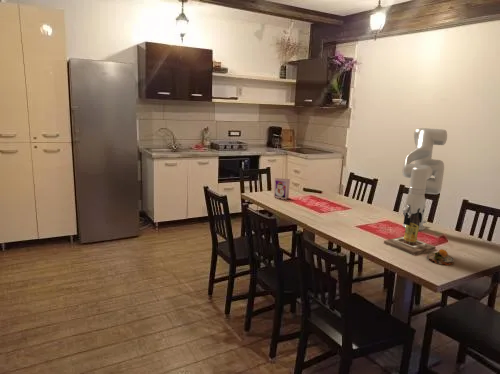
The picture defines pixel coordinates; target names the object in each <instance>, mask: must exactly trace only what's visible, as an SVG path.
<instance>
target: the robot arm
mask: <svg viewBox="0 0 500 374" xmlns="http://www.w3.org/2000/svg"><path fill="white" fill-rule="evenodd" d="M413 140H414V144H415V149H414V150H412V151H411V152H409V153H408V154H407V155H406V157H405V158H404V161H403V166H402V176H403V177H404V178H407V179H409V188H408V193H407V196H406V199H405V204H404V208H402V212H403V218H404V219H403V223H402V227H404V229H406V225H410V216H411V214H415V213H417V210H418V209H419V208H420V211H419V220H420V223H419V230H418V231H424V230H425V229H426V227H425V226H424V225H425V224H427V220H426V219H424V216H425V209H426V206H427V205H426V204H427V203H426V202H427V200H426V197H425V194H428V195H439V194H440V193H441V191H442V187H443V180H444V174H445V173H444V172H445V163H444V161H443V160H440V159H433V158H432V156H433V149H434V146H445V144H446V143H447V141H448V131H447V130H446V129H443V128H441V129H439V128H430V127H429V128H427V127H426V128H424V127H422V128H416V129H415V130H414V133H413ZM413 162H414V163H413ZM432 176H433V177H432Z"/></svg>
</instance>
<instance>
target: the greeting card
mask: <svg viewBox="0 0 500 374" xmlns="http://www.w3.org/2000/svg"><path fill="white" fill-rule="evenodd" d="M290 181H291V179H290V178H276V177H275V178H274V186H273V187H274V188H273V198H274V197H276V198H275V199H279V198H281V199H280V200H284V199H286V200H287V199H289V198H290V196H289V195H290V183H291V182H290Z"/></svg>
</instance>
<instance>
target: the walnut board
mask: <svg viewBox="0 0 500 374" xmlns="http://www.w3.org/2000/svg"><path fill="white" fill-rule="evenodd" d="M383 244H385V245H386V246H390V247H391V248H392V247H393V248H394V249H397V250H399V251H402V252H404V253H407V254H410V255H413V256H416V255H419V254H423V253H426V252H431V251H434V250H436V246H435V245H432V244H430V243H427V242H424V241H420V240H418V239H417V241H416V244H415V245H409V244H406V243H404V236H399V237H394V238H389V239H386V240H384V241H383Z"/></svg>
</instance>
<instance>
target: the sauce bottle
mask: <svg viewBox="0 0 500 374" xmlns="http://www.w3.org/2000/svg"><path fill="white" fill-rule="evenodd" d="M419 211H420V208H419V209H418V210H417V213H415V214H411V216H410V225H406V228H404V229H405V230H404V234H403V235H404V243H406V244H409V245H415V244H416V241H417V240H418V234H419V231H420V230H419V223H420V220H419Z"/></svg>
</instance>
